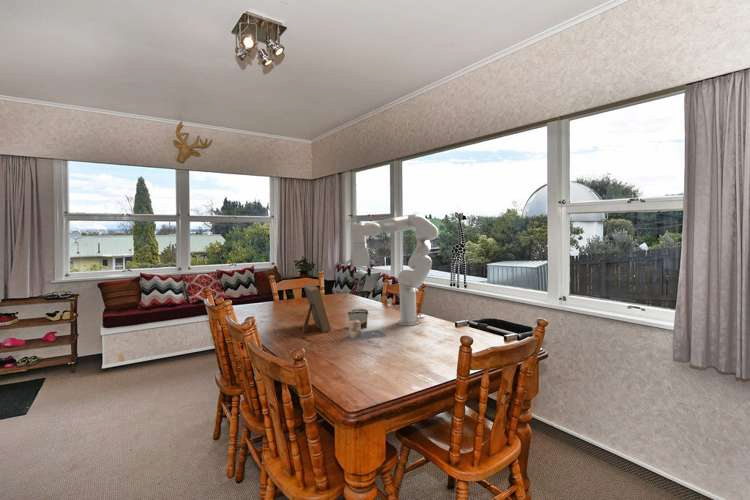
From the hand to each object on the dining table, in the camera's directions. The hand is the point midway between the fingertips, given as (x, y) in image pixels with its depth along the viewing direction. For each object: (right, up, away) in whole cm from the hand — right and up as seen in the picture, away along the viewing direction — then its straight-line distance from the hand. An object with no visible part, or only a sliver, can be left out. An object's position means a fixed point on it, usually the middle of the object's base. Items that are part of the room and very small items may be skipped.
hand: (360, 276), depth 211 cm
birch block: (-3, -31, -9) cm, 32 cm away
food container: (-1, -30, +11) cm, 32 cm away
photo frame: (-27, -31, +10) cm, 42 cm away
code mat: (+3, -31, -7) cm, 32 cm away
